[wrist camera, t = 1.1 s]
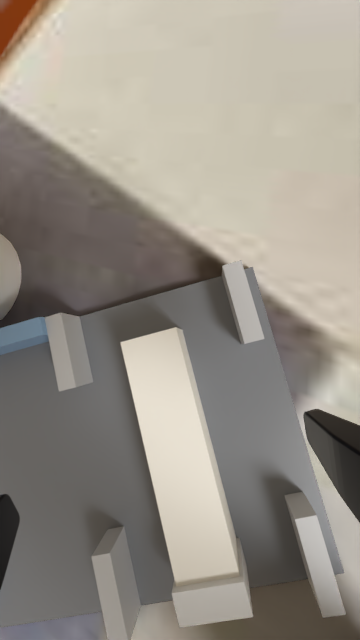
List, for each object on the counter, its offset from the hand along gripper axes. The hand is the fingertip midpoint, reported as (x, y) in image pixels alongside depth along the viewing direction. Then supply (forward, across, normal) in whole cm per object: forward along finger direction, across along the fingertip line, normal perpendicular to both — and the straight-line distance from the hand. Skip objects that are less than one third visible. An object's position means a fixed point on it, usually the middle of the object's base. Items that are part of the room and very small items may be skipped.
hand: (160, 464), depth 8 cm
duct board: (+11, +6, +7) cm, 14 cm away
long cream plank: (+10, 0, +6) cm, 11 cm away
